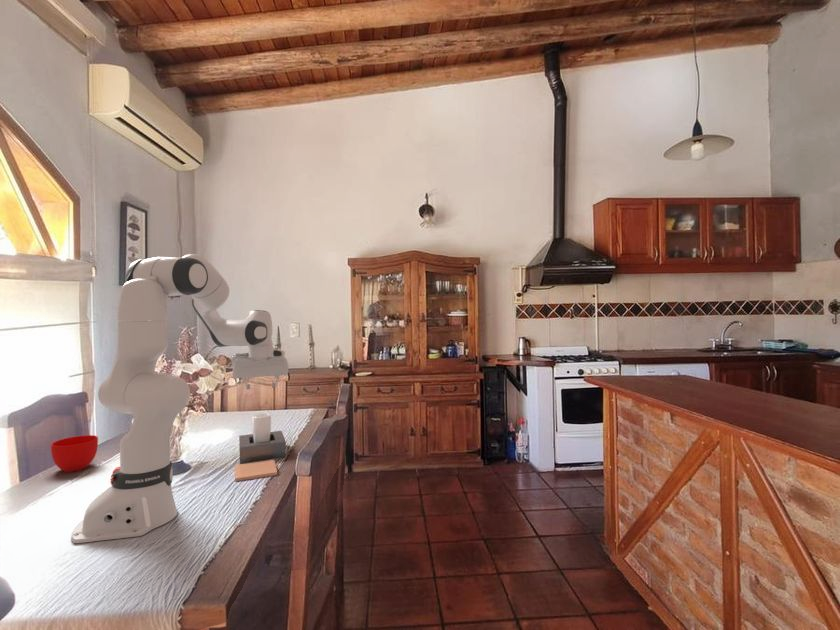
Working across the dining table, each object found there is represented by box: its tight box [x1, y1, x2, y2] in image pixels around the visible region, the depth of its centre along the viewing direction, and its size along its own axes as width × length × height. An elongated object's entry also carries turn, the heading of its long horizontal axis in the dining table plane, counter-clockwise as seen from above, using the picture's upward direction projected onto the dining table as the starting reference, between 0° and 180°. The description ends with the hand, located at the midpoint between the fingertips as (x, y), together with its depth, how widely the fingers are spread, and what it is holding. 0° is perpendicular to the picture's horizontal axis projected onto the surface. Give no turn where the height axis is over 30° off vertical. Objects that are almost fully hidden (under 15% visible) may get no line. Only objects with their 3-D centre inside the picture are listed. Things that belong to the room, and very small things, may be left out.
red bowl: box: [50, 434, 99, 473], centre depth 152 cm, size 13×17×10 cm
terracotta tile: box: [234, 459, 278, 482], centre depth 145 cm, size 13×13×1 cm
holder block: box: [238, 430, 287, 465], centre depth 163 cm, size 16×16×6 cm
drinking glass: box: [251, 412, 272, 443], centre depth 163 cm, size 7×7×15 cm
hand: (261, 388), depth 163 cm, fingers open, 8 cm apart
